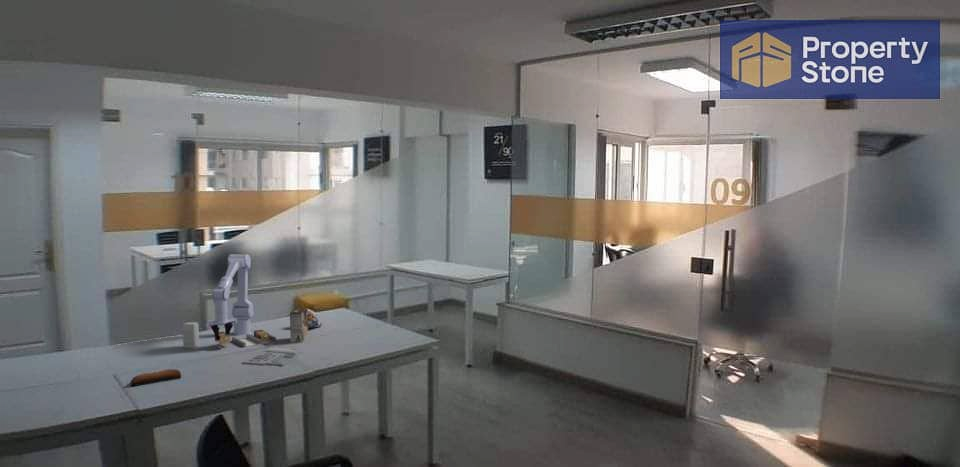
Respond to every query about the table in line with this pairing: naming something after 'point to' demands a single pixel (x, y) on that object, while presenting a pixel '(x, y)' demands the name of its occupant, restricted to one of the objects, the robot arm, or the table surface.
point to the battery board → (251, 340)
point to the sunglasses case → (155, 376)
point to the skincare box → (190, 335)
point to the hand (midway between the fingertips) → (222, 338)
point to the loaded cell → (261, 335)
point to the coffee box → (299, 325)
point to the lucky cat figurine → (313, 319)
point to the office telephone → (273, 357)
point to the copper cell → (223, 338)
